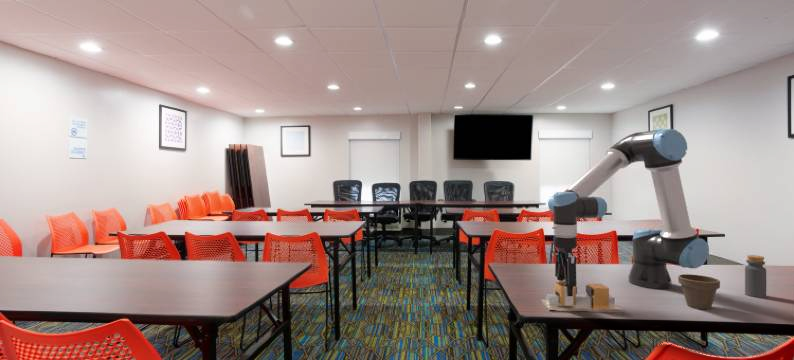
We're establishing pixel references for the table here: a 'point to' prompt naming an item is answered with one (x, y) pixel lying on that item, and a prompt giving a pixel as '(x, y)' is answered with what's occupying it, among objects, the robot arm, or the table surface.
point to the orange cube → (560, 290)
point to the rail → (586, 301)
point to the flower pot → (699, 290)
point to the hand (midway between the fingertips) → (565, 301)
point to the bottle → (755, 277)
